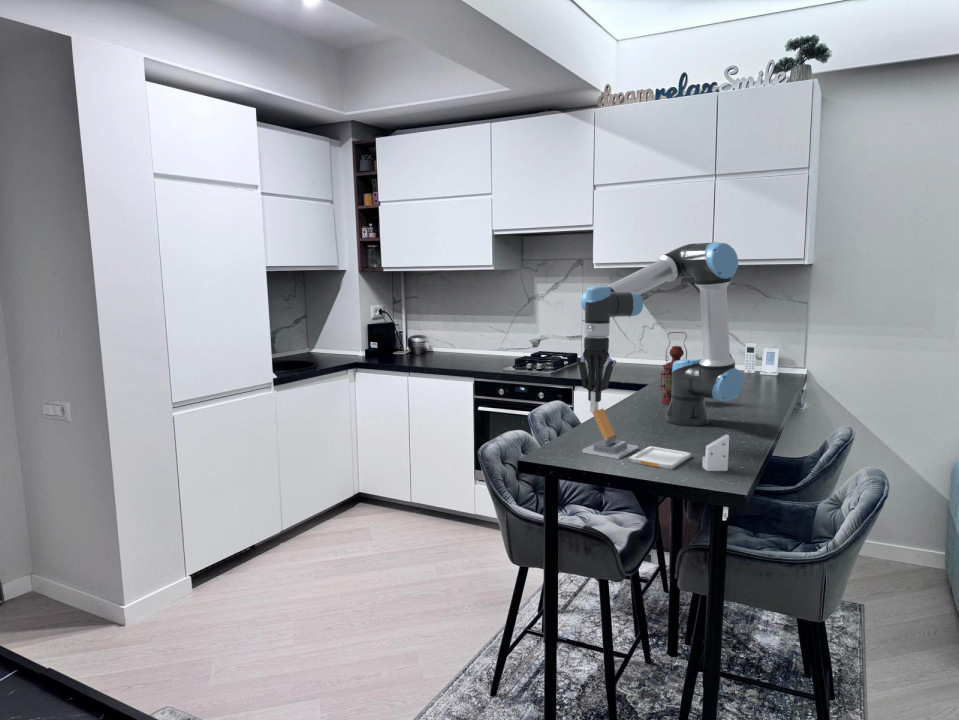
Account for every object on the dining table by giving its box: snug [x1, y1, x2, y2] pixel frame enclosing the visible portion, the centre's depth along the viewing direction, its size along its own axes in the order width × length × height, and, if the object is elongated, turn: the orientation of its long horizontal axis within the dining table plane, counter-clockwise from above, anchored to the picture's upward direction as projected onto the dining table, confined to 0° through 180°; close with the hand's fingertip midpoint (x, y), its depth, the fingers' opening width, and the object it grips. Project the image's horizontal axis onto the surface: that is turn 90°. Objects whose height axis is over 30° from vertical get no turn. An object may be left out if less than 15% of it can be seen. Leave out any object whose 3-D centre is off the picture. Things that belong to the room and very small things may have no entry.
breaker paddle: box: [591, 408, 618, 444], centre depth 206 cm, size 5×2×11 cm, turn 143°
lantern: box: [659, 331, 688, 406], centre depth 276 cm, size 12×12×30 cm
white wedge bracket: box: [702, 434, 730, 472], centre depth 187 cm, size 4×10×9 cm, turn 92°
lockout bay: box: [627, 445, 692, 470], centre depth 197 cm, size 16×13×1 cm
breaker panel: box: [582, 439, 639, 460], centre depth 206 cm, size 14×12×2 cm
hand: (594, 411), depth 208 cm, fingers closed
